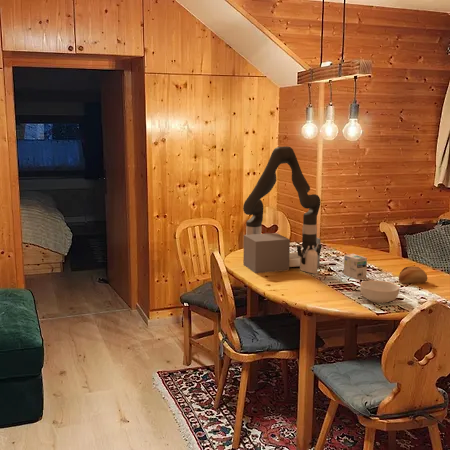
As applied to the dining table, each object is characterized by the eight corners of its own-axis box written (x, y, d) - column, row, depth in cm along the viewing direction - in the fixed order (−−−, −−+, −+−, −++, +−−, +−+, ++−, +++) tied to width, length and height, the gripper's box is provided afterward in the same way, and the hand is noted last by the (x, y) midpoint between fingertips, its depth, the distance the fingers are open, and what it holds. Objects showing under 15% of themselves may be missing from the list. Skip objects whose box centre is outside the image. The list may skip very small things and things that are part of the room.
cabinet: (243, 264, 304) (243, 235, 301) (275, 262, 310) (276, 232, 307) (255, 273, 287) (255, 241, 284) (289, 270, 293) (289, 239, 290)
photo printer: (298, 270, 293) (299, 247, 291) (304, 269, 296) (304, 246, 294) (313, 274, 285) (313, 251, 283) (318, 273, 288) (319, 250, 286)
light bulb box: (366, 277, 279) (367, 257, 277) (356, 279, 276) (357, 258, 274) (353, 272, 289) (353, 253, 287) (342, 274, 286) (343, 254, 284)
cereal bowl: (381, 309, 232) (382, 293, 231) (351, 299, 245) (352, 284, 244) (406, 301, 242) (407, 286, 241) (376, 292, 255) (377, 278, 254)
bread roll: (393, 281, 274) (394, 265, 273) (419, 279, 278) (421, 263, 276) (404, 286, 265) (405, 270, 263) (431, 284, 268) (432, 268, 267)
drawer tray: (273, 261, 310) (274, 234, 307) (304, 258, 316) (305, 232, 313) (287, 269, 293) (287, 241, 290) (319, 266, 299) (320, 238, 296)
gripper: (318, 230, 292) (317, 260, 295) (294, 231, 288) (293, 263, 291) (325, 232, 285) (324, 264, 288) (300, 234, 281) (299, 266, 284)
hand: (308, 263), depth 290 cm, fingers closed on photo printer, 5 cm apart
